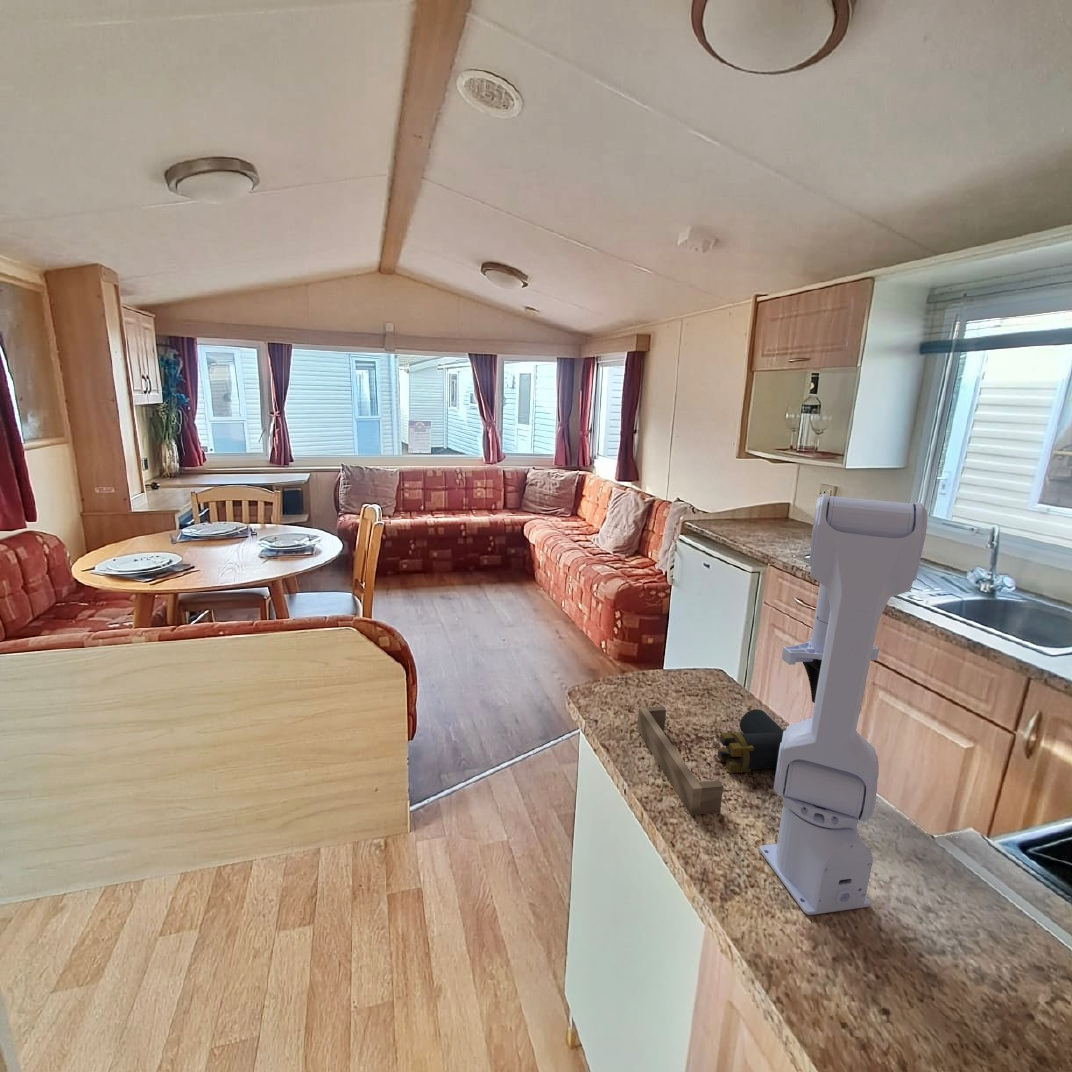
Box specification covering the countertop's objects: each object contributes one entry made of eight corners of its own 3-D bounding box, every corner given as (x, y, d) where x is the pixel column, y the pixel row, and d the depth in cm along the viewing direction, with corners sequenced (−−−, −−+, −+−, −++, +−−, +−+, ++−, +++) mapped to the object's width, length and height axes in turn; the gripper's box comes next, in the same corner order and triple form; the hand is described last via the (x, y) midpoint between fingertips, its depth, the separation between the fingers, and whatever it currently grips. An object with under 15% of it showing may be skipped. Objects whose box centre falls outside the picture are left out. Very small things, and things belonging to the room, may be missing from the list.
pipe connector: (754, 768, 78) (705, 710, 92) (748, 802, 79) (701, 739, 93) (830, 763, 80) (770, 707, 94) (823, 796, 81) (765, 736, 95)
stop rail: (720, 812, 76) (723, 786, 75) (690, 815, 76) (693, 788, 75) (661, 727, 96) (663, 706, 95) (637, 729, 95) (639, 707, 94)
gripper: (860, 608, 89) (846, 688, 92) (775, 611, 86) (763, 693, 89) (895, 625, 82) (879, 711, 85) (804, 629, 79) (791, 717, 82)
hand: (822, 704), depth 87 cm, fingers closed
